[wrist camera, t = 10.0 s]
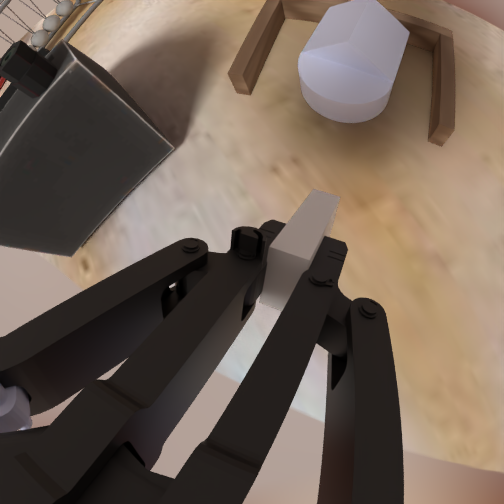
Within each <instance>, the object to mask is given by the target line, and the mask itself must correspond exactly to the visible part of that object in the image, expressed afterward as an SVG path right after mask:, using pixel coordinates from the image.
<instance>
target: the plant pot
mask: <svg viewBox="0 0 504 504" xmlns="http://www.w3.org/2000/svg"><path fill="white" fill-rule="evenodd" d="M4 81H5V78H3V77H2V76H0V88H1V87H2V85H3V83H4Z"/></svg>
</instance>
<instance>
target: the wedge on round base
mask: <svg viewBox="0 0 504 504" xmlns="http://www.w3.org/2000/svg"><path fill="white" fill-rule="evenodd" d="M409 33H410V32H409V31H408V30H407V29H406V28H405V27H404V26H403V25H402V24H401V23H400V22H399V21H398V20H397V19H396V18H395V17H394V16H393V15H392V14H391V13H390V12H389V11H388V10H386V9H385V8H384V7H383V6H382V5H381V4H380V3H379V2H378V1H376V0H353V1H349V2H345V3H342V4H338V5H335V6H332V7H329V9H328V10H327V12H326V13H325V15H324V16H323V18H322V20H321V21H320V23H319V24H318V26H317V28H316V29H315V31H314V32H313V34H312V36H311V37H310V39H309V41H308V42H307V44H306V45H305V47H304V49H303V50H302V52H301V54H300V56H299V59H298V71H299V78H300V85H301V91H302V94H303V97H304V99H305V100H306V102H307V103H308V105H309V106H310V107H311V108H312V109H313V110H315V111H316V112H317V113H319V114H320V115H322V116H324V117H326V118H328V119H331V120H334V121H338V122H343V123H359V122H364V121H367V120H370V119H372V118H374V117H376V116H377V115H379V114H380V113H381V112H382V111H383V110H384V108H385V107H386V105H387V103H388V100H389V96H390V93H391V90H392V86H393V83H394V80H395V77H396V74H397V71H398V68H399V65H400V62H401V59H402V56H403V53H404V50H405V46H406V43H407V40H408V37H409Z"/></svg>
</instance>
